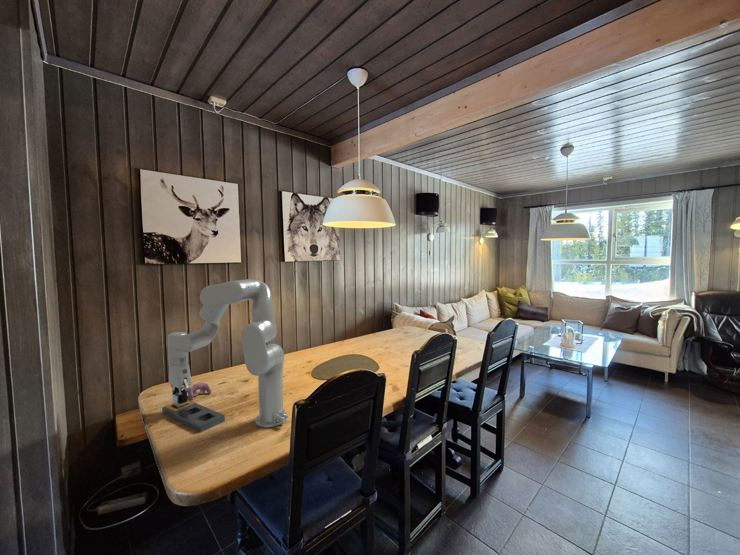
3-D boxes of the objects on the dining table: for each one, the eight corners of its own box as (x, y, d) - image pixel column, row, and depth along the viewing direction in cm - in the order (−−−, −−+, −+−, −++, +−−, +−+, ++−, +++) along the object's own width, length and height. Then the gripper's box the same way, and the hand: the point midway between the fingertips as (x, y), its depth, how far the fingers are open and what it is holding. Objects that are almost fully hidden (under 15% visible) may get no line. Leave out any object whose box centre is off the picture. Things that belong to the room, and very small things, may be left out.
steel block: (187, 410, 137) (186, 393, 137) (177, 414, 134) (177, 396, 133) (182, 408, 139) (182, 391, 139) (173, 412, 136) (172, 394, 135)
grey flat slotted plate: (224, 421, 127) (224, 414, 127) (200, 432, 119) (200, 425, 119) (185, 404, 143) (185, 398, 143) (162, 413, 135) (161, 406, 135)
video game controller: (209, 395, 157) (205, 381, 158) (212, 393, 154) (209, 379, 156) (188, 401, 149) (184, 387, 151) (191, 400, 146) (188, 385, 148)
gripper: (197, 361, 134) (199, 402, 135) (177, 355, 143) (178, 394, 144) (179, 366, 128) (181, 409, 128) (159, 359, 136) (161, 400, 137)
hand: (180, 400), depth 136 cm, fingers open, 4 cm apart
